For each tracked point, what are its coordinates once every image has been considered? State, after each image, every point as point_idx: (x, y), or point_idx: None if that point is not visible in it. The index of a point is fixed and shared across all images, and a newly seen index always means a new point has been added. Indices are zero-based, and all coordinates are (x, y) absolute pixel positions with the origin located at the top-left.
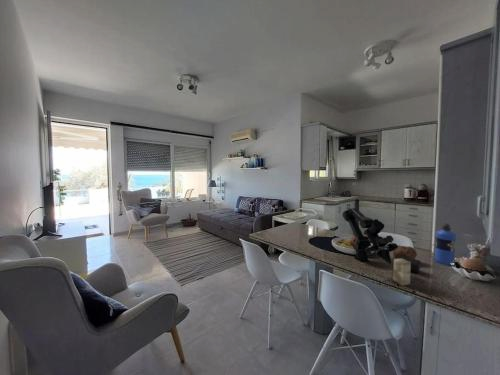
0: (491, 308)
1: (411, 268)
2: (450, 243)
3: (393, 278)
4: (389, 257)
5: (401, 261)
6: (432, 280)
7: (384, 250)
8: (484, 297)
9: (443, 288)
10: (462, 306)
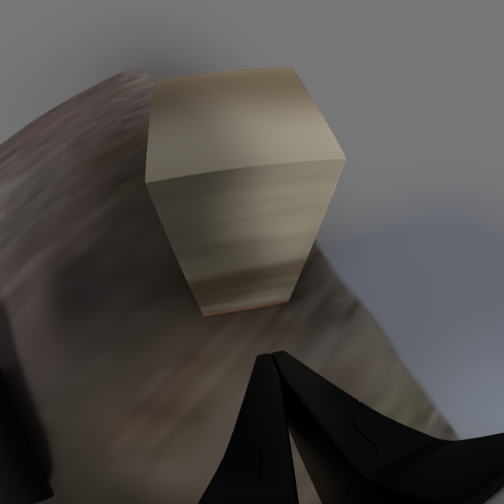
0: (81, 95)
1: (4, 391)
2: None
3: (290, 293)
4: (263, 410)
5: (276, 90)
6: (14, 271)
7: (464, 472)
8: (18, 142)
9: (58, 190)
10: None
